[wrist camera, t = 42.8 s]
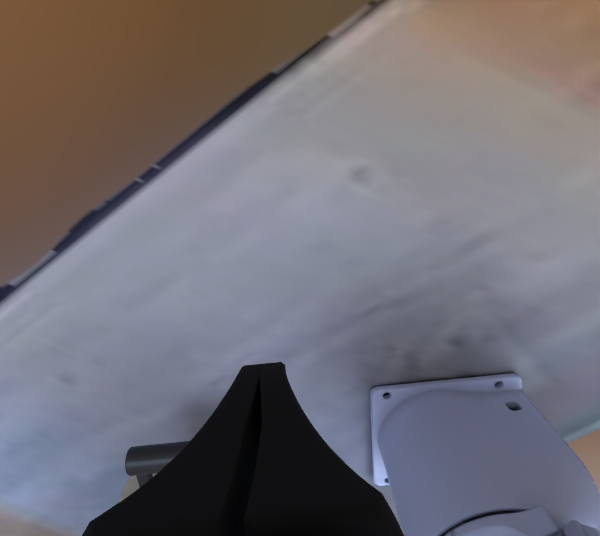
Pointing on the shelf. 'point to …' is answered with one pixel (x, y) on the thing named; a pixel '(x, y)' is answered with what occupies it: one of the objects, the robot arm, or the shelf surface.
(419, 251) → the shelf surface
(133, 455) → the drawer
